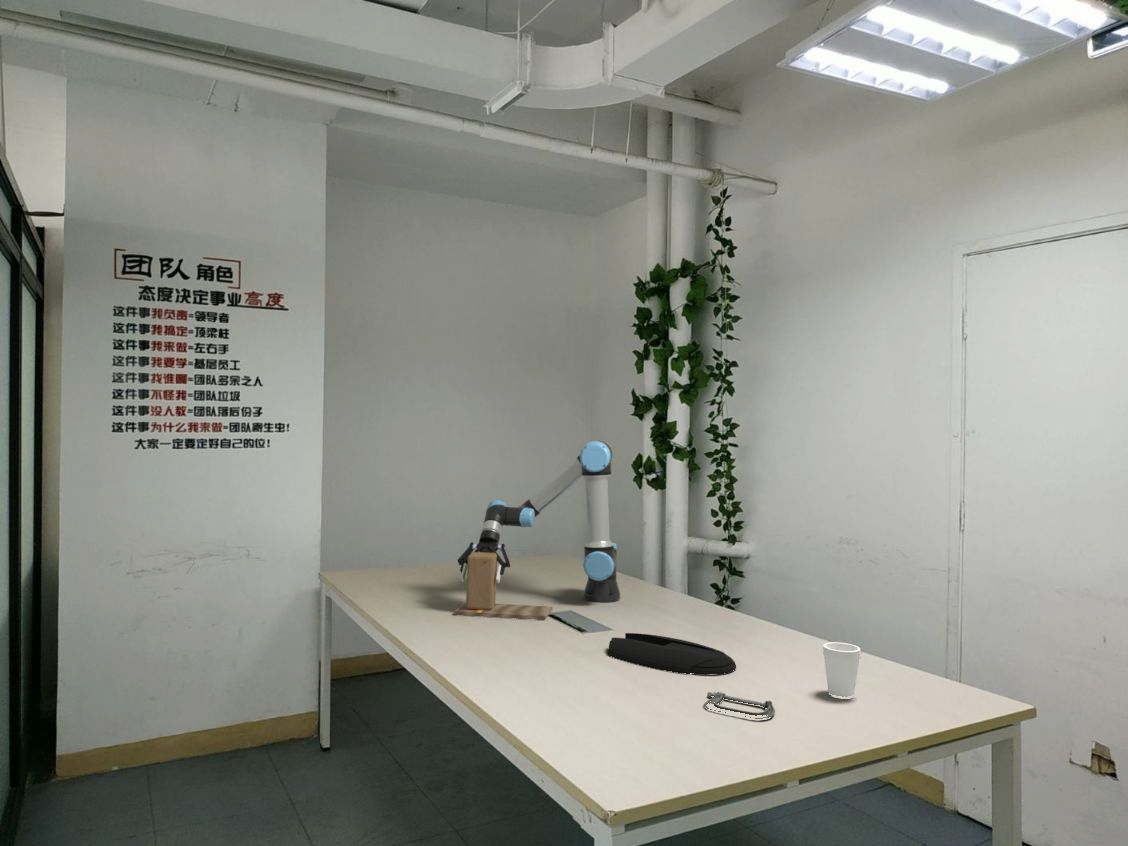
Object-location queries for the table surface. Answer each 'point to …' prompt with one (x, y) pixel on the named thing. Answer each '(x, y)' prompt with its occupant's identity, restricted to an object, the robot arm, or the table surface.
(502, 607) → the floor board
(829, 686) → the foam cup
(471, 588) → the wooden block
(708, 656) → the black notched oval shell
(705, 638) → the table surface
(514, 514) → the robot arm
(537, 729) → the table surface
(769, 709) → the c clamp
